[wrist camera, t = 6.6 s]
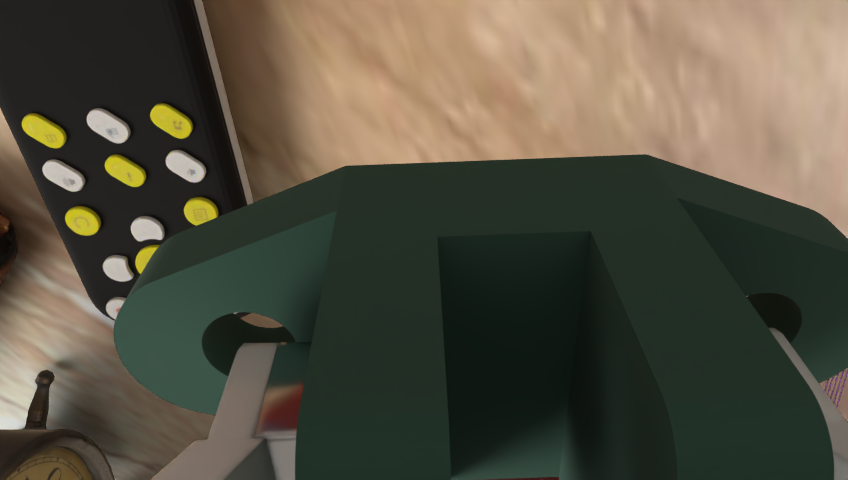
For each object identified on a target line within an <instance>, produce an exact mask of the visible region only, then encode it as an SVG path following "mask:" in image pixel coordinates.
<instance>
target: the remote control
mask: <svg viewBox="0 0 848 480" xmlns="http://www.w3.org/2000/svg"><path fill="white" fill-rule="evenodd" d="M0 108H1V110H2V112H3V115H4V117H5V119H6V121H7V123H8V125H9V127H10V129H11V132H12V134H13V136H14V138H15V140H16V142H17V144H18V146H19V149H20V151H21V153H22V155H23V157H24V159H25V161H26V163H27V166H28V168H29V170H30V172H31V174H32V176H33V178H34V181H35V183H36V185H37V187H38V189H39V191H40V193H41V195H42V198H43V200H44V202H45V204H46V206H47V208H48V210H49V212H50V215H51V217H52V219H53V221H54V223H55V225H56V227H57V229H58V232H59V234H60V236H61V238H62V240H63V242H64V244H65V246H66V249H67V251H68V253H69V255H70V257H71V259H72V261H73V264H74V266H75V268H76V270H77V272H78V274H79V276H80V278H81V281H82V283H83V285H84V287H85V289H86V291H87V293H88V295H89V297H90V299H91V300H92V302H93V304H94V305H95V307H96V308H97V309H98V310H99V311H101V312H102V313H103V314H104V315H106V316H107V317H109V318H110V319H112V320H116V317H117V314H118V312H119V310H120V308H121V306H122V305H123V303H124V301H125V300H126V298H127V296H128V295H129V293H130V291H131V290H132V288H133V286H134V285H135V283H136V281H137V280H138V278H139V276H140V275H141V273H142V271H143V270H144V268H145V266H146V265H147V263H148V261H149V260H150V258H151V256H152V255H153V253H154V252H155V251H156V249H157V248H158V247H159V246H160V245H161V244H162V243H164V242H165V241H166V240H167V239H169V238H170V237H172V236H174V235H176V234H178V233H180V232H182V231H184V230H187V229H189V228H192V227H194V226H197V225H199V224H202V223H204V222H207V221H209V220H212V219H214V218H217V217H219V216H222V215H224V214H227V213H229V212H232V211H234V210H237V209H239V208H242V207H244V206H247V205H249V204H252V203H254V201H253V197H252V194H251V190H250V186H249V182H248V178H247V174H246V170H245V166H244V162H243V158H242V154H241V151H240V147H239V143H238V139H237V135H236V131H235V127H234V123H233V119H232V115H231V111H230V108H229V104H228V100H227V96H226V92H225V88H224V84H223V80H222V76H221V72H220V68H219V65H218V61H217V57H216V53H215V49H214V45H213V41H212V37H211V33H210V29H209V25H208V22H207V18H206V14H205V10H204V6H203V2H202V0H0ZM234 314H235V315H236V316H237V317H238V318H241V317H243V316H245V315H248V314H250V313H249V312H237V313H234Z"/></svg>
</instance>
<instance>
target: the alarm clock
mask: <svg viewBox="0 0 848 480" xmlns="http://www.w3.org/2000/svg"><path fill="white" fill-rule="evenodd" d="M54 377H55V376H54V374H53V372H51V371H48V370H45V371H42V372H40V373H39V374H38V376H37V378H36V381H35V382H36V384H37V390H36V392H35V395H34V398H33V400H32V402H31V405H30V408H29V410H28V417H27V421H26V426H25V428H24V429H22V430H0V480H115V479H114V475H113V472H112V469H111V467H110V465H109V463H108V461H107V458H106V457H105V455H104V454H103V452H102V450H101V449H100V448H99V447H98V445H97V444H96V443H95V442H94V441H93V440H92V439H91V438H89V437H88V436H86V435H84V434H83V433H81V432H78V431H75V430H69V429H59V430H47V429H46V422H47V415H48V410H49V387H50V385H51V383H52V382H53V380H54Z"/></svg>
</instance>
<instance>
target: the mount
mask: <svg viewBox="0 0 848 480" xmlns="http://www.w3.org/2000/svg"><path fill="white" fill-rule="evenodd" d="M748 295H749V296H748ZM746 296H748V297H746ZM237 312H249V313H256V314H261V315H264V316H267V317H269V318H272V319H274V320H275V321H277V322H279V323H280V324H282V325H283V326H284V327H279V328H263V327H258V326H254V325H252V324H249V323H247V322H245V321H243V320H241V319H240V318H238V317H237V316H236V315H235V314H234V313H237ZM769 328H775V329H776V330H778V331H780V332H781V333H782V334H783V335H784V336H785V338H786V339H787V340H788V342H789V343H790V345H791V346H792V347H793V349H794V350H795V351H796V353H797V354H798V356H799V357H800V358H801V360H802V361H803V362H804V364H805V365H806V366H807V368H808V369H809V371H810V372H811V373H812V375H813V376H814V377H815V379H816V380H817V381H818V383H821V382H823V381H825V380H827V379H829V378H831V377H833V376H835V375H837V374H838V373H840V372H842V371H843V370H845V369H846V368H848V239H847V238H846V237H845V236H844V235H843V234H842V233H841V232H840V231H839V230H838V229H837V228H836V227H835V226H834V225H833V224H832V223H831V222H830V221H829V220H828V219H826V218H825V217H824V216H822V215H821V214H819V213H817V212H816V211H814V210H811V209H809V208H806V207H803V206H800V205H797V204H794V203H791V202H788V201H785V200H782V199H779V198H776V197H773V196H770V195H767V194H764V193H761V192H758V191H755V190H752V189H749V188H746V187H743V186H740V185H737V184H734V183H731V182H728V181H725V180H722V179H719V178H716V177H713V176H710V175H707V174H704V173H701V172H698V171H695V170H691V169H688V168H685V167H682V166H679V165H676V164H673V163H670V162H667V161H664V160H661V159H658V158H655V157H652V156H649V155H620V156H594V157H568V158H542V159H515V160H489V161H463V162H437V163H410V164H384V165H358V166H344V167H342V168H339V169H337V170H334V171H332V172H329V173H327V174H324V175H322V176H319V177H317V178H314V179H312V180H309V181H307V182H304V183H302V184H299V185H297V186H294V187H292V188H289V189H287V190H284V191H282V192H279V193H277V194H274V195H272V196H269V197H267V198H264V199H262V200H259V201H257V202H254V203H252V204H249V205H247V206H244V207H242V208H239V209H237V210H234V211H232V212H229V213H227V214H224V215H222V216H219V217H217V218H214V219H212V220H209V221H207V222H204V223H202V224H199V225H197V226H194V227H192V228H189V229H187V230H184V231H182V232H180V233H178V234H176V235H174V236H172V237H170V238H169V239H167V240H166V241H165V242H164V243H162V244H161V245H160V246H159V247H158V248H157V249H156V251H155V252H154V253H153V255H152V256H151V258H150V260H149V261H148V263H147V265H146V266H145V268H144V270H143V271H142V273H141V275H140V276H139V278H138V280H137V281H136V283H135V285H134V286H133V288H132V290H131V291H130V293H129V295H128V296H127V298H126V300H125V301H124V303H123V305H122V306H121V308H120V310H119V312H118V314H117V317H116V320H115V325H114V341H115V346H116V350H117V352H118V355H119V357H120V359H121V361H122V363H123V364H124V366H125V367H126V369H127V370H128V371H129V373H130V374H131V375H132V376H133V377H134V378H135V379H136V380H137V381H138V382H139V383H140V384H141V385H142V386H144V387H145V388H146V389H147V390H149V391H150V392H152V393H153V394H155V395H156V396H158V397H160V398H162V399H163V400H165V401H168V402H170V403H172V404H174V405H177V406H179V407H182V408H185V409H189V410H192V411H197V412H201V413H206V414H210V415H216V412H217V409H218V406H219V403H220V400H221V397H222V394H223V391H224V388H225V385H226V382H227V379H228V376H229V373H230V370H231V367H232V364H233V361H234V359H235V356H236V353H237V351H238V349H239V348H240V347H241V346H242V345H243V343H281V342H312V344H311V349H310V354H309V360H308V365H307V370H306V375H305V380H304V386H303V391H302V396H301V401H300V407H299V414H298V422H297V432H296V447H295V480H482V479H510V478H538V477H559V480H834V457H833V449H832V443H831V438H830V434H829V430H828V426H827V423H826V420H825V417H824V414H823V412H822V409H821V407H820V405H819V403H818V400H817V398H816V397H815V395H814V393H813V391H812V390H811V388H810V387H809V385H808V383H807V382H806V381H805V379H804V378H803V376H802V375H801V374H800V372H799V371H798V369H797V368H796V366H795V365H794V364H793V362H792V361H791V359H790V358H789V357H788V355H787V354H786V352H785V351H784V349H783V348H782V347H781V345H780V344H779V342H778V341H777V339H776V338H775V337H774V335H773V334H772V332H771V331H770V330H769Z"/></svg>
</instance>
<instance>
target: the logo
mask: <svg viewBox="0 0 848 480" xmlns="http://www.w3.org/2000/svg"><path fill="white" fill-rule="evenodd" d="M843 372H844V370H843ZM843 372H842V375H841V379H842V376H843ZM847 374H848V370H847V373H846V377H847ZM838 375H839V373H838V374H837V378H838ZM833 377H834V376H833ZM833 377H832V380H833ZM846 377H845V380H846ZM837 378H836V381H837ZM841 379H840V382H841ZM828 380H829V379H828ZM828 380H827V383H828ZM832 380H831V384H832ZM845 380H844V383H845ZM836 381H835V384H836ZM840 382H839V385H840ZM827 383H826V387H827ZM844 383H843V386H842V390H843V387H844ZM831 384H830V387H831ZM835 384H834V388H835ZM839 385H838V388H837V392H838V389H839ZM826 387H825V390H826ZM830 387H829V390H830ZM834 388H833V391H834ZM825 390H824V391H825ZM829 390H828V394H829ZM842 390H841V393H842ZM833 391H832V394H833ZM837 392H836V395H837ZM841 393H840V396H841ZM828 394H827V395H828ZM832 394H831V397H830V399H831V398H832ZM836 395H835V398H836ZM840 396H839V399H838V403H839V400H840ZM835 398H834V402H835ZM834 402H833V403H834ZM838 403H837V406H838ZM837 406H836V407H837Z"/></svg>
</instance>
